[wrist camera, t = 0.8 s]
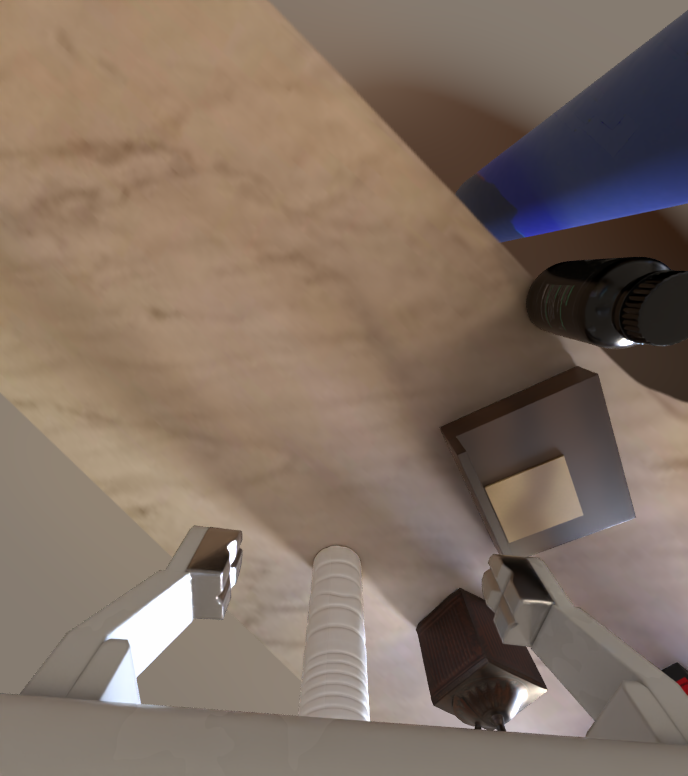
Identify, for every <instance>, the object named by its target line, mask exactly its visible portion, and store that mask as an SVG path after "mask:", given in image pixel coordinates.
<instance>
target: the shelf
mask: <svg viewBox="0 0 688 776" xmlns="http://www.w3.org/2000/svg"><path fill="white" fill-rule="evenodd" d="M440 430H441V432H442V434H443V436H444V438H445V440H446V443H447V445H448V447H449V449H450V451H451V453H452V455H453V458H454V460H455V462H456V464H457V466H458V468H459V471H460V473H461V475H462V477H463V479H464V481H465V483H466V486H467V488H468V490H469V492H470V494H471V496H472V498H473V501H474V503H475V505H476V507H477V509H478V511H479V513H480V516H481V518H482V520H483V522H484V524H485V526H486V528H487V531H488V533H489V535H490V537H491V539H492V541H493V543H494V546H495V547H496V549H497V551H498V553H499V555H510V556H521V557H529V556H532V555H535V554H537V553H540V552H543V551H546V550H548V549H551V548H554V547H556V546H559V545H562V544H565V543H567V542H570V541H573V540H576V539H578V538H581V537H584V536H587V535H589V534H592V533H595V532H598V531H600V530H603V529H606V528H609V527H611V526H614V525H617V524H620V523H622V522H625V521H628V520H631V519H633V518H636V516H635V513H634V509H633V505H632V501H631V497H630V494H629V490H628V486H627V482H626V478H625V475H624V471H623V467H622V463H621V459H620V456H619V452H618V448H617V444H616V440H615V437H614V433H613V429H612V425H611V421H610V418H609V414H608V410H607V406H606V402H605V399H604V395H603V391H602V387H601V383H600V380H599V376H598V374H596V373H594V372H591V371H589V370H586V369H583V368H581V367H578V366H577V367H574V368H572V369H570V370H568V371H565V372H563V373H561V374H559V375H556V376H554V377H552V378H550V379H548V380H545V381H543V382H541V383H539V384H536V385H534V386H532V387H530V388H527V389H525V390H523V391H521V392H518V393H516V394H514V395H512V396H510V397H507V398H505V399H503V400H501V401H498V402H496V403H494V404H492V405H489V406H487V407H485V408H483V409H480V410H478V411H476V412H474V413H471V414H469V415H467V416H465V417H463V418H460V419H458V420H456V421H454V422H451V423H449V424H447V425H445V426H442V427H440Z"/></svg>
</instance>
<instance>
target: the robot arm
mask: <svg viewBox="0 0 688 776" xmlns="http://www.w3.org/2000/svg"><path fill="white" fill-rule="evenodd" d="M241 542H242V531H239V530H231V529H222V528H214V527H203V526H195V525H194V526H193V527H192V528H191V529H190V530H189V532H188V533H187V535H186V537H185V538H184V540H183V542H182V543H181V545H180V546H179V548H178V550H177V551H176V553H175V555H174V556H173V558H172V560H171V562H170V563H169V565H168V566H167V568H166V570H159V571H158V572H156V573H155V574H153V575H152V576H150V577H149V578H147V579H146V580H144V581H143V582H141V583H140V584H139V585H137V586H136V587H134V588H132V589H131V590H130V591H128V592H127V593H125V594H124V595H122V596H121V597H119V598H118V599H116V600H115V601H113V602H112V603H110V604H109V605H107V606H106V607H104V608H103V609H101V610H100V611H98V612H97V613H95V614H94V615H92V616H91V617H89V618H88V619H87V620H85V621H84V622H82V623H81V624H79V625H78V626H76V627H75V628H73V629H72V630H70V631H69V632H68V633H66V635H65V636H64V637H63V639H62V640H61V641H60V642H59V644H58V645H57V646H56V648H55V649H54V650H53V651H52V653H51V654H50V655H49V657H48V658H47V659H46V661H45V662H44V663H43V664H42V666H41V667H40V668H39V670H38V671H37V672H36V673H35V675H34V676H33V678H32V679H31V680H30V681H29V682H28V684H27V685H26V686H25V688H24V689H23V690H22V692H21V693H20V694H19V695H18V694H5V693H0V776H688V696H687V694H686V693H685V692H684V691H683V689H682V688H681V687H680V686H679V684H678V683H676V682H675V681H674V680H673V679H671V678H670V677H669V676H667V675H666V674H665V673H663V672H662V671H661V670H660V669H658V668H657V667H656V666H654V665H653V664H652V663H651V662H649V661H648V660H647V659H645V658H644V657H643V656H641V655H640V654H639V653H638V652H636V651H635V650H634V649H632V648H631V647H630V646H629V645H627V644H626V643H625V642H623V641H622V640H621V639H620V638H618V637H617V636H616V635H614V634H613V633H612V632H610V631H609V630H608V629H607V628H605V627H604V626H603V625H601V624H600V623H599V622H598V621H596V620H595V619H594V618H592V617H591V616H590V615H588V614H587V613H586V612H585V611H583V610H582V609H581V608H579V607H574V605H573V604H572V602H571V601H570V600H569V598H568V597H567V595H566V594H565V592H564V591H563V589H562V588H561V586H560V585H559V583H558V582H557V580H556V579H555V577H554V576H553V575H552V573H551V572H550V570H549V569H548V567H547V566H546V564H545V563H544V562H543V561H542V560H541V559H540V558H533V557H521V556H510V555H497V554H493V555H492V556H491V557H490V558H489V561H488V564H489V566H490V569H489V570H487V571H486V572H484V575H483V578H482V592H483V597H484V599H485V602H486V604H487V606H488V607H489V608H490V609H491V610H492V611H493V612H494V613H495V615H494V619H493V621H494V624H495V626H496V628H497V631H498V633H499V635H500V638H501V640H502V643H503V644H510V645H519V646H527V647H531V649H532V650H533V651H534V653H535V654H536V655H537V656H538V657H539V658H540V659H541V661H542V662H543V663H544V664H545V665H546V666H547V667H548V668H549V670H550V671H551V672H552V673H553V674H554V675H555V676H556V677H557V679H558V680H559V681H560V682H561V683H562V684H563V685H564V687H565V688H566V689H567V690H568V691H569V692H570V693H571V694H572V696H573V697H574V698H575V699H576V700H577V701H578V702H579V703H580V705H581V706H582V707H583V708H584V709H585V710H586V711H587V713H588V714H589V715H590V716H591V717H592V718H593V719H594V720H595V722H594V723H593V725H592V726H591V728H590V729H589V730H588V732H587V734H586V737H572V736H558V735H545V734H532V733H519V732H506V731H493V730H480V729H467V728H454V727H441V726H428V725H415V724H401V723H388V722H375V721H361V720H348V719H335V718H321V717H308V716H293V715H282V714H269V713H255V712H241V711H229V710H215V709H202V708H189V707H175V706H163V705H149V704H141V702H140V696H139V691H138V685H137V680H136V677H137V676H138V675H139V674H140V673H141V672H142V671H143V670H144V669H145V668H146V667H147V666H148V665H149V664H150V663H151V662H152V661H153V660H154V659H155V658H156V657H157V656H158V655H159V654H160V653H161V652H162V651H163V650H164V649H165V648H166V647H167V646H168V645H169V644H170V643H171V642H172V641H173V640H174V639H175V638H176V637H177V636H178V635H179V634H180V633H181V632H182V631H183V630H184V629H185V627H187V626H188V625H189V624H190V623H191V622H192V621H193V618H198V619H217V620H223V618H224V615H225V612H226V610H227V607H228V604H229V602H230V599H231V587H232V586H233V585H235V584H236V582H237V579H238V576H239V572H240V568H241V563H242V549H241V548H240V545H241Z"/></svg>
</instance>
